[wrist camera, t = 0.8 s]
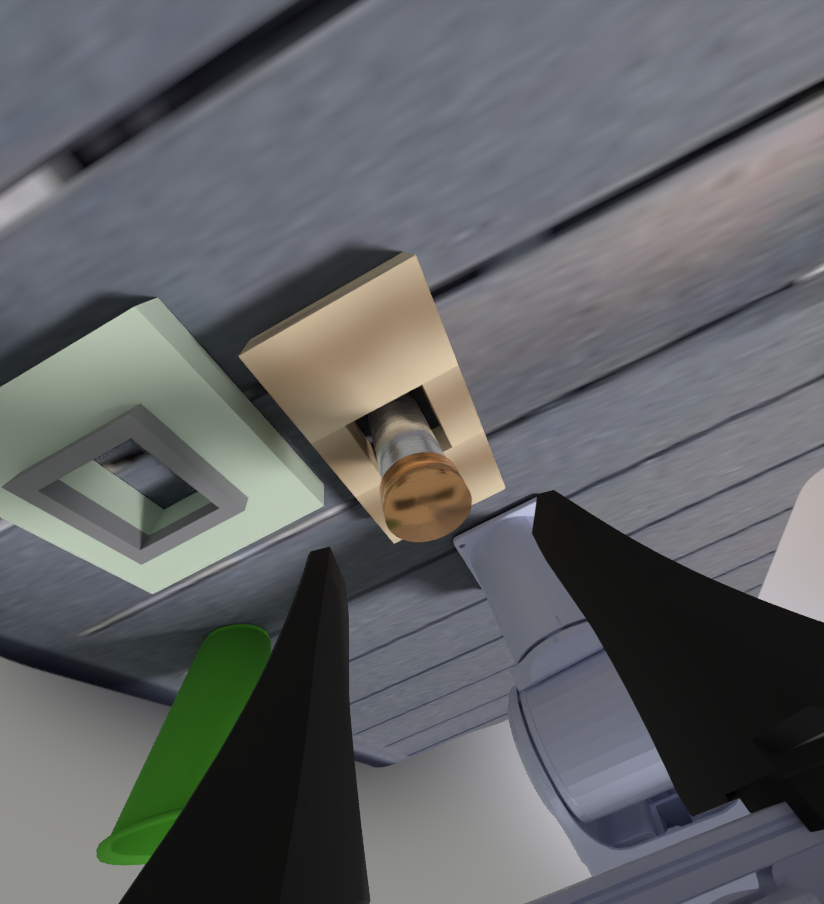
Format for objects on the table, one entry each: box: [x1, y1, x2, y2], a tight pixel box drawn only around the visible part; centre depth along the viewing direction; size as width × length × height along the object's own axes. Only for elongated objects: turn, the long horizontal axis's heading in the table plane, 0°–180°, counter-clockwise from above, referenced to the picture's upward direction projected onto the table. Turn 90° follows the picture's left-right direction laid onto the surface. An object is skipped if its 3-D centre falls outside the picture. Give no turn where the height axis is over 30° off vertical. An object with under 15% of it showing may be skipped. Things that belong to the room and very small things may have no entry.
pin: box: [368, 393, 472, 542], centre depth 16 cm, size 3×3×8 cm
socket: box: [0, 298, 324, 594], centre depth 16 cm, size 12×12×3 cm
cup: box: [97, 624, 271, 865], centre depth 23 cm, size 9×9×11 cm
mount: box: [238, 252, 506, 544], centre depth 18 cm, size 14×8×2 cm, turn 25°
